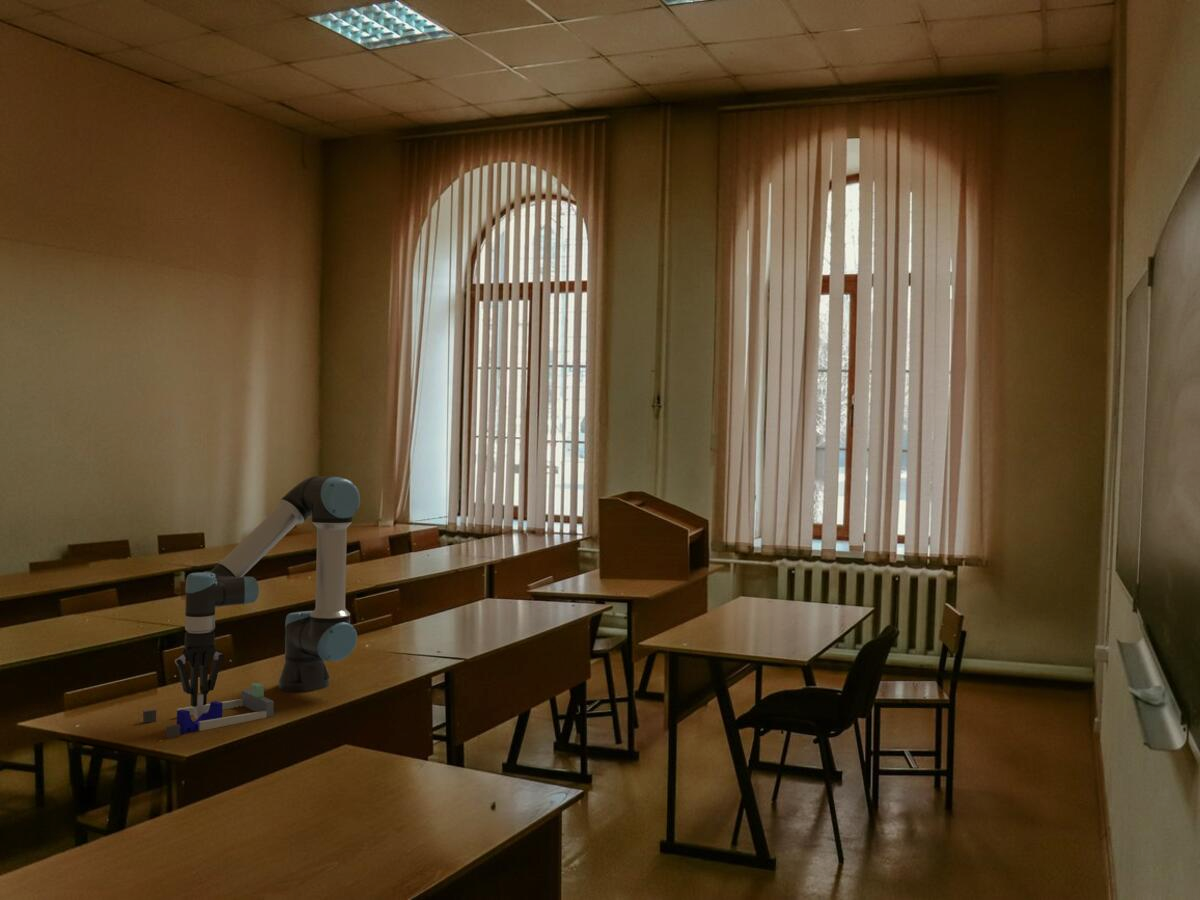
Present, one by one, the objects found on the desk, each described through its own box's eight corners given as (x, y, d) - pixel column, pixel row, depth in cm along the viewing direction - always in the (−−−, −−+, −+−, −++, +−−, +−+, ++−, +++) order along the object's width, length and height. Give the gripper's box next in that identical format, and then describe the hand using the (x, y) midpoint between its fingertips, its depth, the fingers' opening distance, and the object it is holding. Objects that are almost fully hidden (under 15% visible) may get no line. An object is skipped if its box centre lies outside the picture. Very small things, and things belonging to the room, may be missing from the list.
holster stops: (154, 720, 278) (154, 709, 278) (179, 736, 263) (180, 725, 263) (143, 722, 276) (143, 711, 276) (167, 738, 261) (168, 727, 261)
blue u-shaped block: (210, 722, 278) (211, 700, 278) (222, 724, 276) (222, 702, 276) (172, 732, 267) (173, 709, 267) (184, 735, 265) (184, 712, 265)
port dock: (248, 706, 294) (248, 678, 294) (273, 719, 281) (273, 690, 281) (176, 717, 281) (177, 688, 281) (199, 732, 268) (200, 701, 268)
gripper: (218, 626, 283) (217, 711, 283) (170, 631, 275) (168, 718, 275) (229, 630, 278) (227, 717, 278) (180, 635, 269) (178, 725, 269)
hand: (198, 717), depth 276 cm, fingers closed
